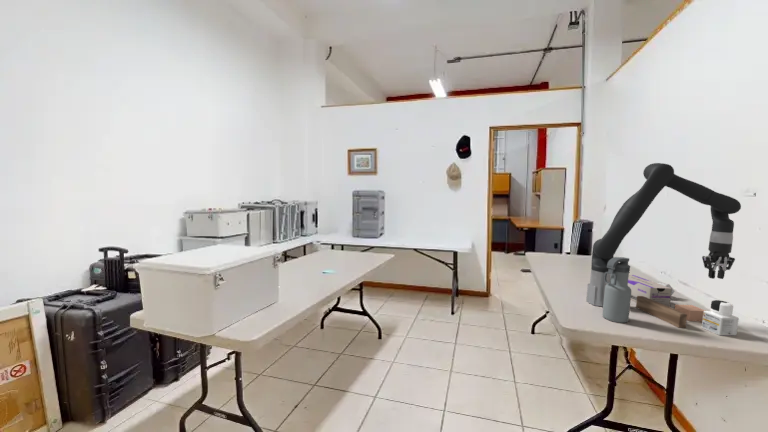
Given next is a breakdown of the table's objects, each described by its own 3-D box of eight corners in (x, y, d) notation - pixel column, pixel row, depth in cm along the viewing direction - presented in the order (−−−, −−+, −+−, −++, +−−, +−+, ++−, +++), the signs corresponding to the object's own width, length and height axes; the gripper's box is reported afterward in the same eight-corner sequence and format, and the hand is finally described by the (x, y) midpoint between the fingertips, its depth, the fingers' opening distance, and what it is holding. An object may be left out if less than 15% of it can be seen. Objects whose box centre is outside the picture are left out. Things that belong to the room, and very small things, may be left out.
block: (689, 321, 155) (690, 310, 155) (674, 314, 163) (675, 304, 163) (706, 321, 155) (707, 311, 155) (690, 315, 163) (692, 305, 163)
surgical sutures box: (613, 292, 195) (615, 274, 194) (632, 293, 196) (634, 275, 195) (648, 308, 170) (650, 287, 169) (669, 309, 171) (671, 288, 170)
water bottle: (613, 323, 148) (620, 260, 146) (596, 315, 158) (602, 255, 155) (633, 323, 150) (640, 260, 147) (615, 314, 160) (621, 255, 157)
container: (700, 327, 148) (704, 298, 147) (717, 327, 148) (721, 298, 147) (719, 335, 140) (724, 305, 139) (736, 335, 141) (741, 305, 140)
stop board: (678, 327, 147) (680, 314, 146) (635, 307, 171) (637, 295, 170) (685, 327, 147) (687, 314, 146) (641, 307, 171) (643, 296, 170)
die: (670, 297, 192) (659, 281, 195) (681, 294, 184) (669, 278, 188) (657, 302, 191) (646, 286, 195) (668, 299, 183) (656, 283, 187)
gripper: (713, 242, 152) (709, 280, 154) (744, 243, 153) (739, 281, 154) (698, 239, 160) (693, 275, 161) (727, 240, 160) (722, 276, 162)
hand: (715, 278), depth 158 cm, fingers open, 3 cm apart
